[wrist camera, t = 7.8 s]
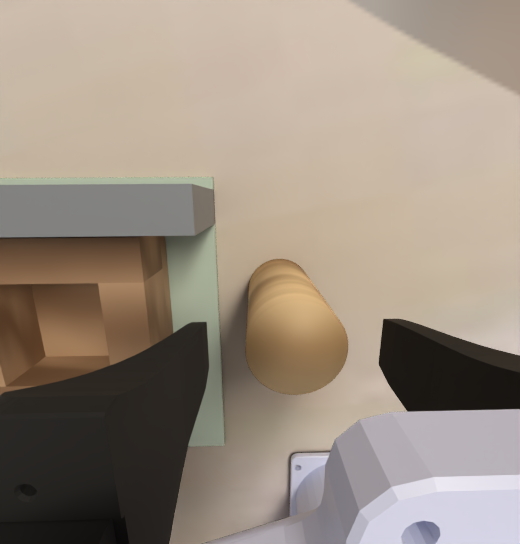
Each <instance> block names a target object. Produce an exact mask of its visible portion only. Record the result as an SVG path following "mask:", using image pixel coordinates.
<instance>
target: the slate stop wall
mask: <svg viewBox="0 0 520 544" xmlns="http://www.w3.org/2000/svg"><path fill="white" fill-rule="evenodd" d="M214 223H215V205H214V190H213V189H209V188H205V187H202V186H198V185H194V184H59V185H0V237H100V236H195V235H197V234H198V233H200V232H202V231H203V230H205V229H207V228H208V227H210V226H212V225H213V224H214Z"/></svg>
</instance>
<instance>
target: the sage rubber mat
mask: <svg viewBox="0 0 520 544" xmlns="http://www.w3.org/2000/svg"><path fill="white" fill-rule="evenodd" d="M59 184H194V185H198V186H202V187H205V188H209V189H213V190H214V182H213V177H126V178H0V185H59ZM165 241H166V252H167V264H168V275H169V287H170V298H171V310H172V321H173V333H174V332H176V331H177V330H179V329H180V328H182V327H184V326H185V325H187V324H189V323H191V322H207V336H208V354H209V372H208V378H207V384H206V389H205V393H204V396H203V399H202V402H201V406H200V409H199V412H198V415H197V418H196V421H195V425H194V428H193V431H192V434H191V437H190V441H189V444H188V447H193V446H224V445H225V433H224V410H223V387H222V364H221V342H220V319H219V296H218V273H217V251H216V228H215V223H214V224H213V225H212V226H210V227H208V228H207V229H205V230H203V231H202V232H200V233H198V234H197V235H195V236H165Z"/></svg>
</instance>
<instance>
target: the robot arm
mask: <svg viewBox="0 0 520 544" xmlns="http://www.w3.org/2000/svg"><path fill="white" fill-rule="evenodd" d="M379 366H380V368H381V370H382V372H383V374H384V376H385V378H386V380H387V382H388V384H389V385H390V387H391V388H392V390H393V391H394V393H395V394H396V396H397V397H398V398H399V400H400V401H401V403H402V404H403V406H404V407H405V408H406V410H407V411H408V412H389V413H385V414H381V415H377V416H373V417H369V418H365V419H361V420H358V421H357V422H356V423H355V424H354V425H352V426H351V427H350V428H349V429H347V430H346V431H345V432H344V433H342V434H341V435H340V436H339V437H337V438H336V439H335V441H334V443H333V446H332V449H331V451H330V452H325V453H296V454H294V455H292V457H291V475H290V517H287V518H284V519H281V520H277V521H274V522H271V523H268V524H264V525H261V526H258V527H255V528H251V529H248V530H245V531H242V532H238V533H235V534H232V535H228V536H225V537H222V538H219V539H215V540H212V541H209V542H206V543H202V544H520V356H519V355H515V354H511V353H507V352H503V351H499V350H495V349H491V348H488V347H484V346H481V345H478V344H475V343H471V342H468V341H465V340H462V339H459V338H456V337H453V336H450V335H447V334H445V333H442V332H439V331H436V330H433V329H431V328H428V327H425V326H422V325H419V324H416V323H413V322H410V321H406V320H402V319H383V328H382V337H381V347H380V356H379ZM208 372H209V354H208V336H207V322H191V323H189V324H187V325H185V326H184V327H182V328H180V329H179V330H177V331H176V332H174V333H173V334H171V335H170V336H168V337H166V338H165V339H163V340H162V341H160V342H158V343H156V344H155V345H153V346H151V347H149V348H148V349H146V350H144V351H142V352H140V353H138V354H136V355H134V356H132V357H130V358H127V359H125V360H123V361H121V362H118V363H115V364H113V365H110V366H107V367H104V368H102V369H99V370H96V371H93V372H90V373H87V374H84V375H80V376H77V377H73V378H69V379H66V380H62V381H58V382H53V383H49V384H44V385H39V386H34V387H29V388H24V389H19V390H14V391H8V392H4V393H2V394H1V395H0V544H169V541H170V535H171V530H172V524H173V518H174V513H175V508H176V502H177V497H178V492H179V487H180V481H181V476H182V472H183V467H184V462H185V457H186V452H187V448H188V444H189V441H190V437H191V434H192V431H193V428H194V425H195V421H196V418H197V415H198V412H199V409H200V406H201V402H202V399H203V396H204V393H205V389H206V384H207V378H208ZM296 465H299V466H296Z"/></svg>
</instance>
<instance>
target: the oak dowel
mask: <svg viewBox="0 0 520 544" xmlns="http://www.w3.org/2000/svg"><path fill="white" fill-rule="evenodd" d="M245 352H246V359H247V363H248V366H249V368H250V370H251V372H252V373H253V375H254V376H255V377H256V379H257V380H258V381H260V382H261V383H262V384H263V385H264V386H266V387H268V388H269V389H271V390H274V391H276V392H279V393H283V394H289V395H299V394H306V393H310V392H313V391H316V390H318V389H321V388H322V387H324V386H326V385H327V384H328V383H330V382H331V381H332V380H333V379H334V378H335V377H336V376H337V375H338V374H339V372H340V371H341V369H342V368H343V366H344V363H345V361H346V358H347V353H348V339H347V335H346V331H345V329H344V327H343V325H342V323H341V322H340V320H339V319H338V318H337V316H336V315H335V313H334V312H333V311H332V309H331V308H330V306H329V305H328V304H327V302H326V301H325V300H324V298H323V297H322V295H321V294H320V293H319V291H318V290H317V288H316V287H315V286H314V284H313V283H312V281H311V280H310V279H309V277H308V276H307V274H306V273H305V272H304V270H303V269H302V268H301V267H300V266H299V265H297V264H296V263H294V262H292V261H289V260H285V259H275V260H270V261H267V262H265V263H264V264H262V265H261V266H259V267H258V268H257V269H256V270H255V272H254V273H253V275H252V277H251V279H250V283H249V294H248V312H247V331H246V349H245Z"/></svg>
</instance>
